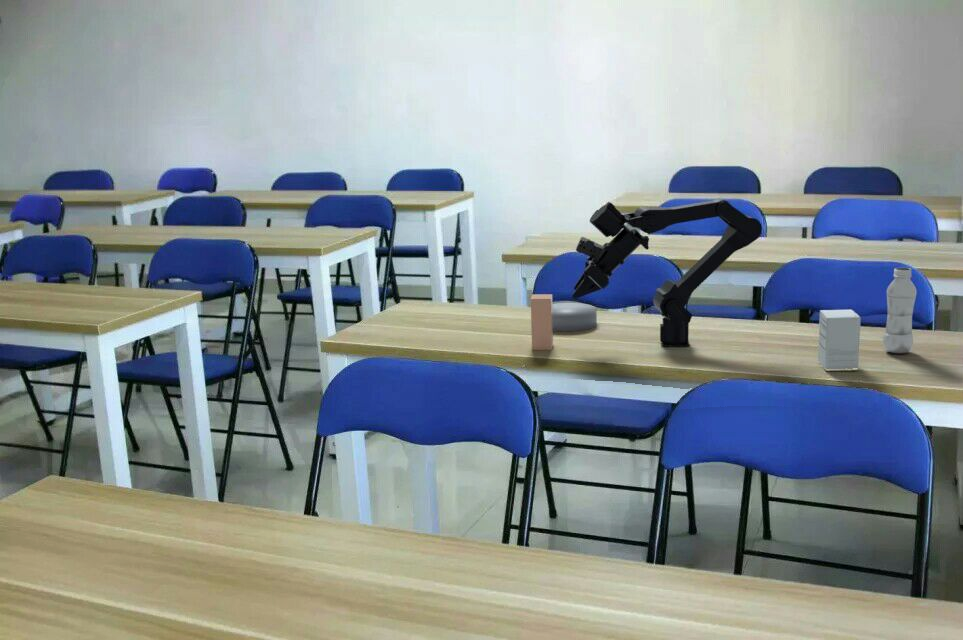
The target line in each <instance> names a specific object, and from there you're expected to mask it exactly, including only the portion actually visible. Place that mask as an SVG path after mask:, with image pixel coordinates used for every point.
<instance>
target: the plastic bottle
mask: <svg viewBox="0 0 963 640" xmlns="http://www.w3.org/2000/svg"><path fill="white" fill-rule="evenodd" d="M892 275H893V276H892V277H894V279H893V280H892V281H891V282H890V284H889V285H888V286H887V288H886V302H887V319H886V325H885V332H884V334H883V338H882V347H883V349H884V350H885V352H888V353H893V354H906V353H908V352H910V351H911V350H912V348H913V344H914V337H913V322H912V321H913V314H914V306H915V302H916V297H917V293H918V292H917V288H916V286H915V284H914V283H913V282H912V280H911V278H912V277H913V276H912V268H910V267H895V268H894V269H893V274H892Z"/></svg>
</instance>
